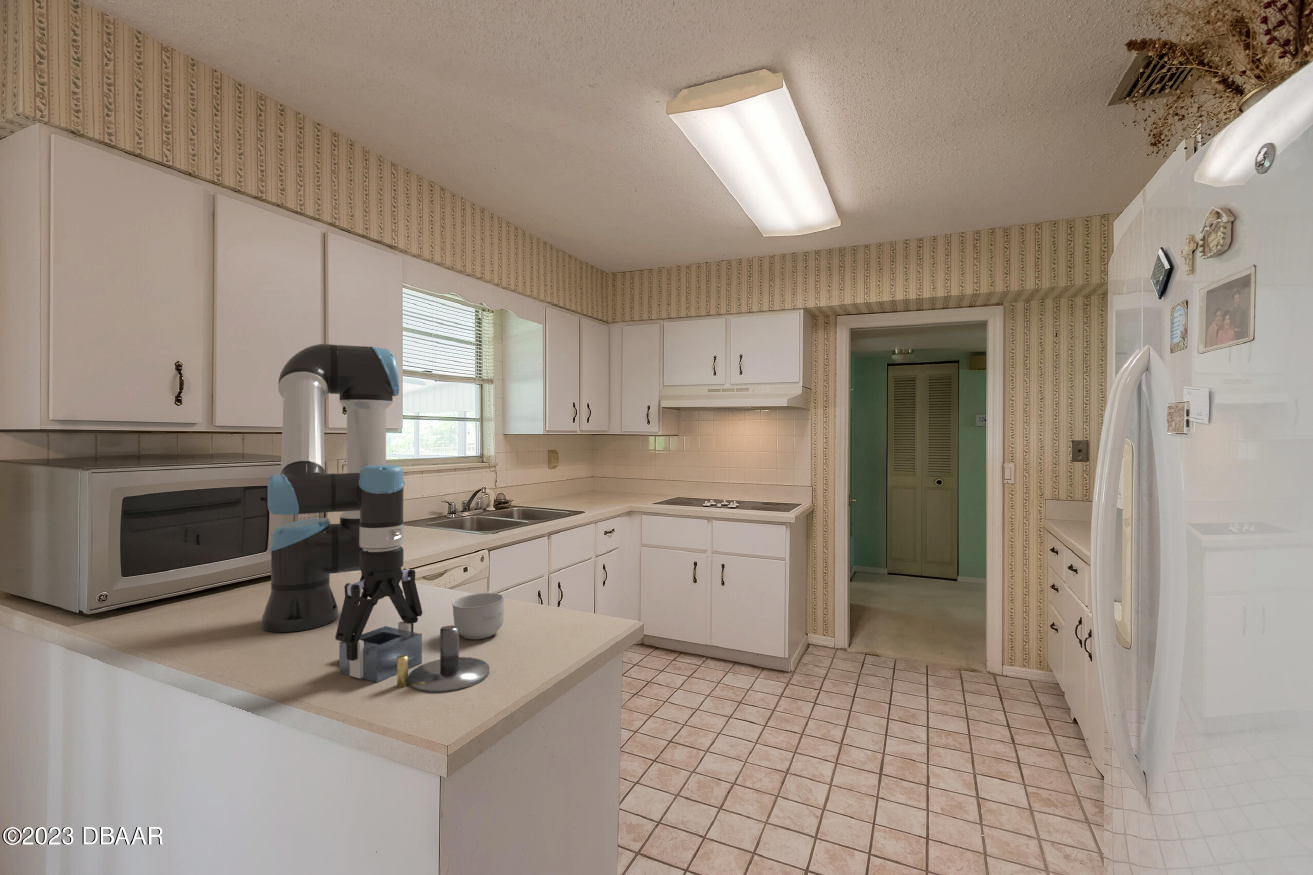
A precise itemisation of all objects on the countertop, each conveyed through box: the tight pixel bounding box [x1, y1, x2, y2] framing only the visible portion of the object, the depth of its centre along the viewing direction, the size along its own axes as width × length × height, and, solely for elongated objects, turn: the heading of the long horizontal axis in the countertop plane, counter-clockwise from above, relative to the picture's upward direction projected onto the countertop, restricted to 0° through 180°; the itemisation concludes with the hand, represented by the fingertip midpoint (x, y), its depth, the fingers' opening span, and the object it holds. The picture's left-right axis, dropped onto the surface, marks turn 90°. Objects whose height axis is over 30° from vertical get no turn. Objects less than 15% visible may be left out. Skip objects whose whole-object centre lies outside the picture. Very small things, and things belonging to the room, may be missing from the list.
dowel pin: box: [396, 655, 409, 688], centre depth 104 cm, size 2×2×5 cm
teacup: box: [451, 590, 505, 640], centre depth 131 cm, size 14×11×8 cm
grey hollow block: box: [338, 625, 423, 683], centre depth 113 cm, size 15×10×6 cm, turn 64°
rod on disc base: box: [408, 625, 490, 693], centre depth 108 cm, size 14×14×9 cm
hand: (381, 665), depth 112 cm, fingers closed on grey hollow block, 10 cm apart
